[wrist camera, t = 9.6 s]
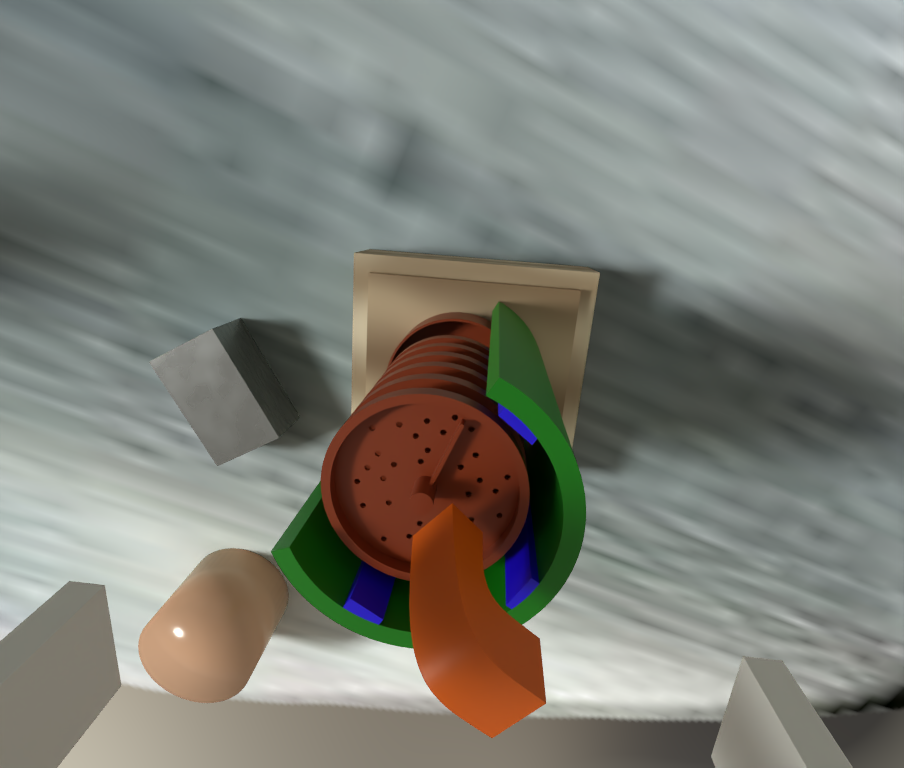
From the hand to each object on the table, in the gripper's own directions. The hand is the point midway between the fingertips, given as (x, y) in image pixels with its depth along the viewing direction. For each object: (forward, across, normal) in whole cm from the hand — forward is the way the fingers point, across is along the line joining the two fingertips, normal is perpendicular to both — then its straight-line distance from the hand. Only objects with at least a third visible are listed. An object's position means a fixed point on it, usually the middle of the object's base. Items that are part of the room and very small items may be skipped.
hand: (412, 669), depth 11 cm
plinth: (+26, 0, 0) cm, 26 cm away
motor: (+21, 0, 0) cm, 21 cm away
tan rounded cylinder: (+26, -17, -22) cm, 37 cm away
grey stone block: (+26, -16, -4) cm, 31 cm away
